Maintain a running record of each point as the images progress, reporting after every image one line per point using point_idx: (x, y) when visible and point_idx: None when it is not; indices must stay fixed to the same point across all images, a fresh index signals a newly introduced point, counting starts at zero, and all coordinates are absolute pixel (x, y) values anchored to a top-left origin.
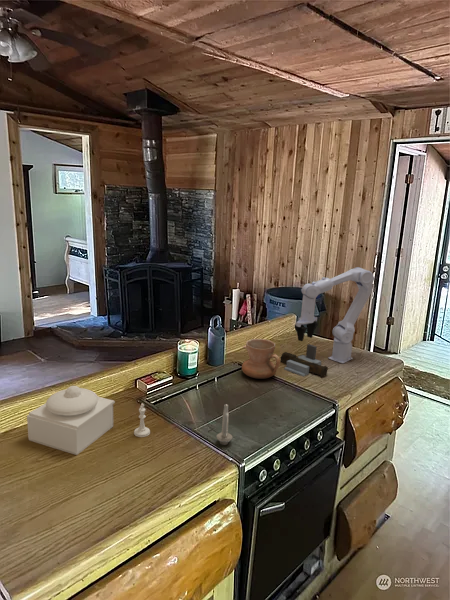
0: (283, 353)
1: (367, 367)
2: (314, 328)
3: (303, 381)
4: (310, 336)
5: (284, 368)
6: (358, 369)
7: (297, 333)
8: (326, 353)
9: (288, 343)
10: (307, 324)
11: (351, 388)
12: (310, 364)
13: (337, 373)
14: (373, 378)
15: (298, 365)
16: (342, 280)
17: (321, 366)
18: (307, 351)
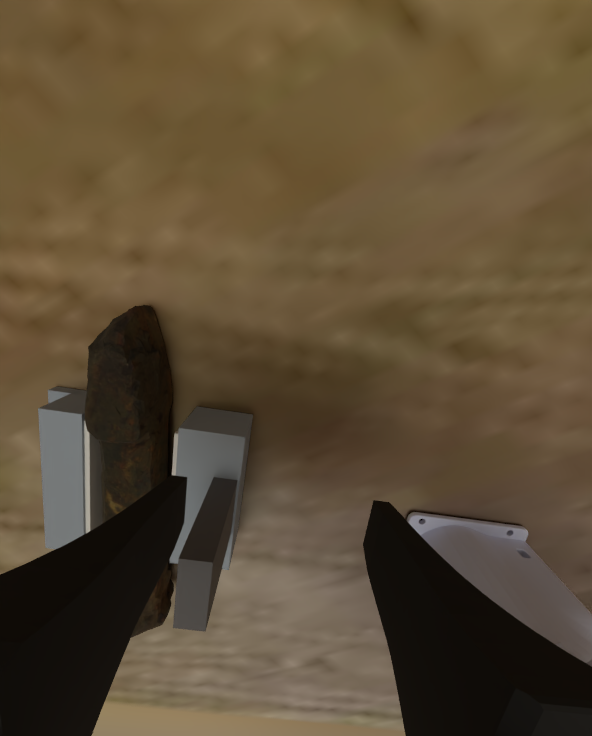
0: (102, 338)
1: None
2: (415, 726)
3: (10, 530)
4: (368, 548)
5: (51, 390)
6: (362, 656)
7: (98, 532)
8: (502, 470)
9: (567, 157)
10: (466, 672)
11: (126, 691)
12: None
13: (239, 608)
14: (300, 720)
15: (44, 496)
16: None
17: None
18: (198, 517)
